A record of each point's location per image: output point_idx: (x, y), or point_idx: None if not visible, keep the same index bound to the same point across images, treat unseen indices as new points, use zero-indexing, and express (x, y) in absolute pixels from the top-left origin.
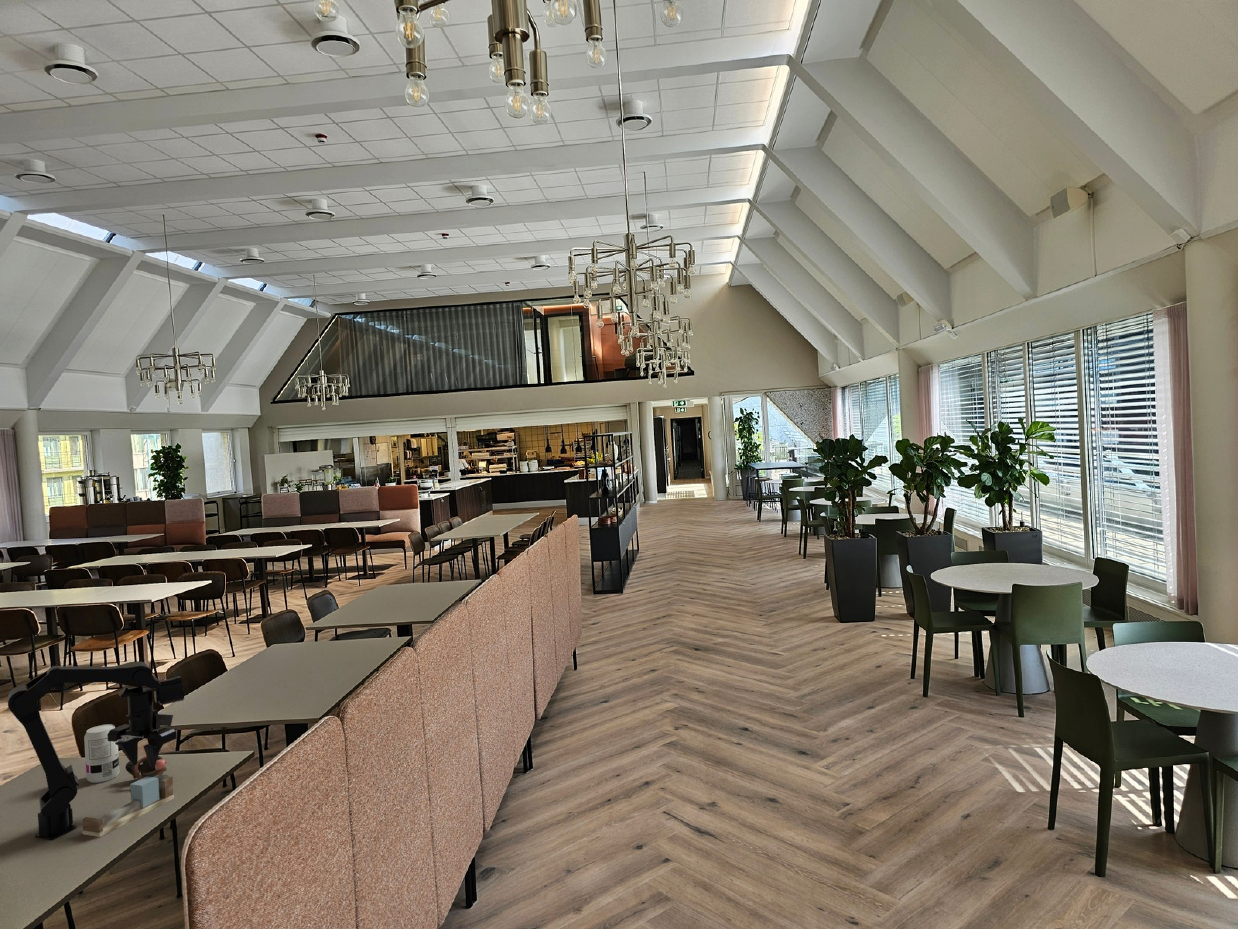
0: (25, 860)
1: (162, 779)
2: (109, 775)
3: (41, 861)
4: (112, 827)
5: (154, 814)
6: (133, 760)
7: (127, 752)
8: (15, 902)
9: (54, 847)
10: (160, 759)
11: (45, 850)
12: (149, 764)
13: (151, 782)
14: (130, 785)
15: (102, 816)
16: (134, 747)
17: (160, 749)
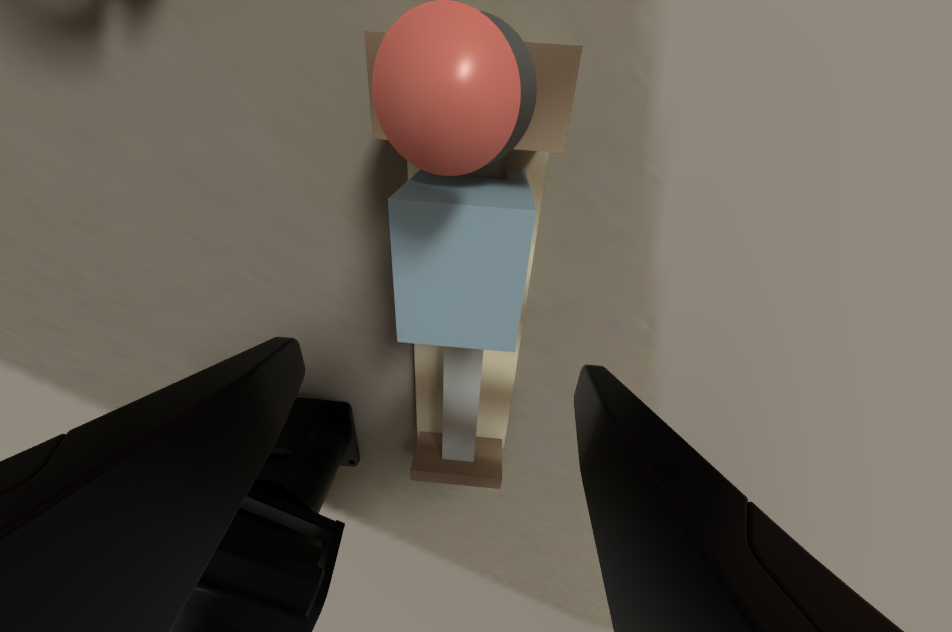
0: (405, 524)
1: (523, 135)
2: None
3: (454, 525)
4: (508, 411)
5: (585, 274)
6: (274, 423)
7: (171, 621)
8: (559, 606)
9: (413, 483)
10: (397, 29)
11: (404, 493)
12: (578, 445)
13: (525, 275)
14: (401, 338)
15: (445, 429)
16: (48, 598)
17: (879, 620)
